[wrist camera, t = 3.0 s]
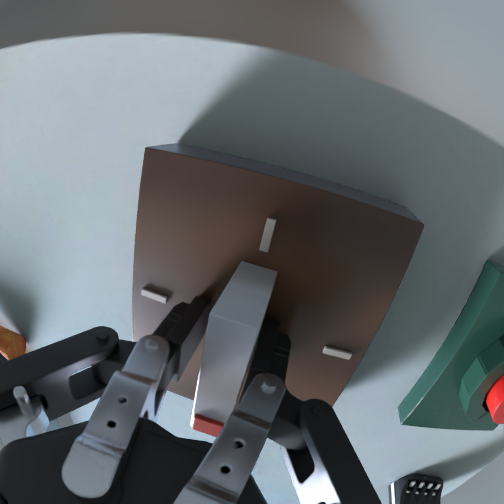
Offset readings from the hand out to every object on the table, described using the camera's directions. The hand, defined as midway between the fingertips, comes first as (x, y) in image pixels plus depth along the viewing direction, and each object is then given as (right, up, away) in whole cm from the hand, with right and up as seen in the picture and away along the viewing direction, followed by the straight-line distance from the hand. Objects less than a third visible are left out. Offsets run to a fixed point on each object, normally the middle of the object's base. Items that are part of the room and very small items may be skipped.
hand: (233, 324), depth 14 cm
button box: (+17, -4, +1) cm, 18 cm away
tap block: (+1, +1, +3) cm, 3 cm away
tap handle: (0, 0, 0) cm, 0 cm away
